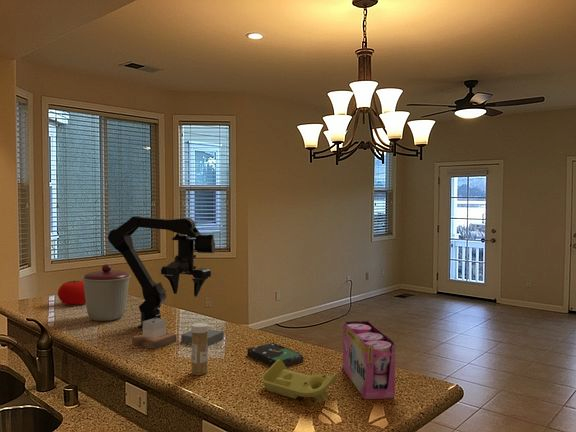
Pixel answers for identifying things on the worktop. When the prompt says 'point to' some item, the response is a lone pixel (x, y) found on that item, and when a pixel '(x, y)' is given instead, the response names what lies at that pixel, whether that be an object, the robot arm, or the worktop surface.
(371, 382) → the gum box
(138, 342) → the brown square tray
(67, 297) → the tomato
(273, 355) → the disk drive
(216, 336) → the slate stand
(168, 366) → the worktop surface
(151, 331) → the two-plate housing
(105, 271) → the canister
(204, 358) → the sprinkles bottle
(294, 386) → the plastic component
